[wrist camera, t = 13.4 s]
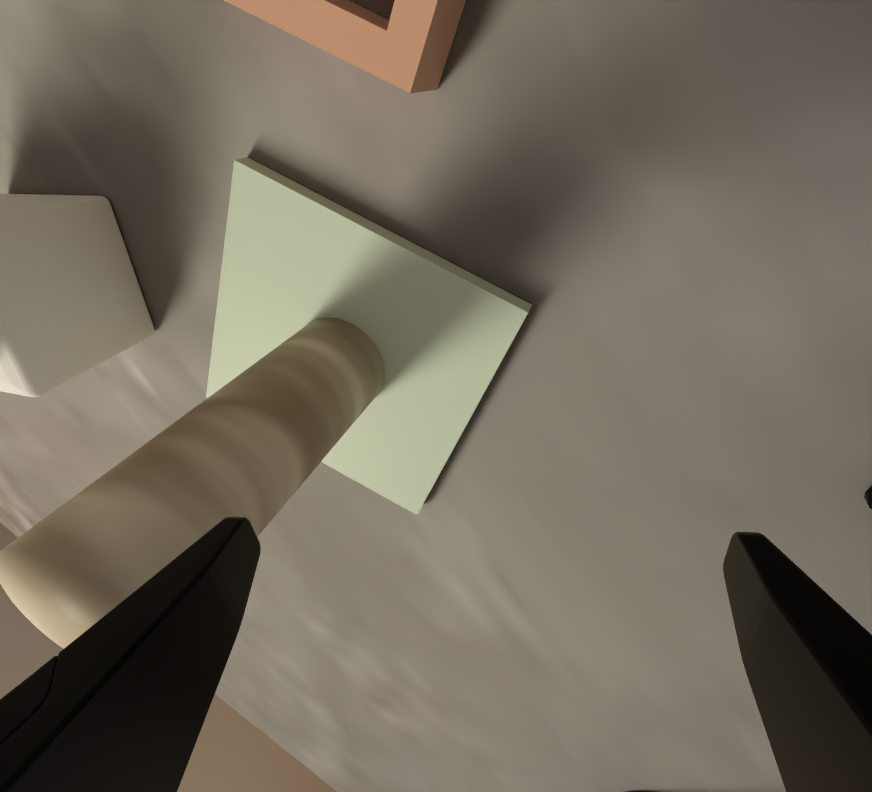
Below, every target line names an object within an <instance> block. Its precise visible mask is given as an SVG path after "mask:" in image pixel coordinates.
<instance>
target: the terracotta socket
mask: <svg viewBox="0 0 872 792" xmlns="http://www.w3.org/2000/svg"><path fill="white" fill-rule="evenodd" d="M224 1H226V2H228V3H230V4H232V5H234V6H236V7H238V8H240V9H242V10H244V11H246V12H248V13H250V14H252V15H254V16H256V17H258V18H260V19H262V20H264V21H266V22H268V23H270V24H272V25H274V26H276V27H278V28H280V29H282V30H284V31H286V32H288V33H290V34H292V35H294V36H296V37H298V38H300V39H302V40H304V41H306V42H308V43H310V44H312V45H314V46H316V47H318V48H320V49H322V50H324V51H326V52H328V53H330V54H332V55H334V56H336V57H338V58H340V59H342V60H344V61H346V62H348V63H350V64H352V65H354V66H356V67H358V68H360V69H362V70H364V71H366V72H368V73H370V74H372V75H375V76H377V77H379V78H381V79H383V80H385V81H387V82H389V83H391V84H393V85H395V86H397V87H399V88H401V89H403V90H405V91H407V92H409V93H415V92H423V91H430V90H437V89H438V86H439V83H440V80H441V76H442V73H443V70H444V67H445V64H446V61H447V58H448V55H449V52H450V49H451V46H452V43H453V39H454V36H455V33H456V30H457V27H458V24H459V21H460V18H461V15H462V12H463V9H464V6H465V2H466V0H394V4H393V8H392V12H391V16H390V20H388V19H386V18H384V17H382V16H380V15H378V14H375V13H373V12H371V11H369V10H367V9H365V8H363V7H361V6H359V5H357V4H355V3H353V2H351V1H349V0H224Z"/></svg>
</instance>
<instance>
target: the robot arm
mask: <svg viewBox="0 0 872 792" xmlns="http://www.w3.org/2000/svg"><path fill="white" fill-rule="evenodd" d="M864 497H865V499H866V501H867V503H868V506H869V508H871V509H872V487H870V488H869V489H868V490H867V491H866V492H865V496H864ZM259 556H260V543H259V540H258V538H257V536H256V533H255V531H254V529H253V527H252V524H251V522H250V520H249V519H248V518H246V517H232V516H231V517H226V518H224V519H223V520H222V521H220V522H219V523H218V524H217V525H215V526H214V527H213V528H212V529H211V530H209V531H208V532H207V533H206V534H204V535H203V536H202V537H201V538H200V539H198V540H197V541H196V542H195V543H193V544H192V545H191V546H190V547H188V548H187V549H186V550H185V551H184V552H182V553H181V554H180V555H179V556H177V557H176V558H175V559H174V560H172V561H171V562H170V563H169V564H168V565H166V566H165V567H164V568H163V569H161V570H160V571H159V572H158V573H156V574H155V575H154V576H153V577H152V578H150V579H149V580H148V581H147V582H145V583H144V584H143V585H142V586H140V587H139V588H138V589H137V590H136V591H134V592H133V593H132V594H131V595H129V596H128V597H127V598H126V599H124V600H123V601H122V602H121V603H120V604H118V605H117V606H116V607H115V608H113V609H112V610H111V611H110V612H108V613H107V614H106V615H105V616H104V617H102V618H101V619H100V620H99V621H97V622H96V623H95V624H94V625H92V626H91V627H90V628H89V629H88V630H86V631H85V632H84V633H83V634H81V635H80V636H79V637H78V638H76V639H75V640H74V641H73V642H72V643H70V644H69V645H68V646H67V647H65V648H64V649H63V650H62V651H61V652H60V653H59V655H58V656H54V657H53V658H52V659H51V660H49V661H48V662H47V663H46V664H44V665H43V666H42V667H41V668H39V669H38V670H37V671H36V672H34V673H33V674H32V675H31V676H30V677H28V678H27V679H26V680H24V681H23V682H22V683H21V684H19V685H18V686H17V687H15V688H14V689H13V690H12V691H10V692H9V693H8V694H7V695H5V696H4V697H3V698H2V699H0V792H177V790H178V787H179V785H180V782H181V780H182V777H183V775H184V772H185V769H186V767H187V764H188V761H189V759H190V756H191V754H192V751H193V748H194V746H195V743H196V741H197V738H198V736H199V733H200V730H201V728H202V725H203V723H204V720H205V717H206V715H207V712H208V709H209V707H210V704H211V702H212V699H213V697H214V694H215V691H216V689H217V686H218V684H219V681H220V679H221V676H222V673H223V671H224V668H225V666H226V663H227V660H228V658H229V655H230V653H231V650H232V647H233V645H234V642H235V640H236V637H237V634H238V631H239V628H240V625H241V622H242V619H243V615H244V612H245V608H246V604H247V601H248V597H249V593H250V590H251V586H252V582H253V579H254V575H255V571H256V567H257V564H258V560H259ZM723 572H724V578H725V583H726V587H727V592H728V596H729V601H730V606H731V610H732V615H733V620H734V624H735V629H736V634H737V638H738V643H739V647H740V652H741V656H742V660H743V664H744V667H745V670H746V673H747V677H748V680H749V682H750V685H751V688H752V691H753V694H754V697H755V700H756V703H757V706H758V709H759V712H760V715H761V718H762V721H763V724H764V727H765V730H766V733H767V736H768V739H769V742H770V745H771V748H772V751H773V754H774V757H775V760H776V763H777V766H778V768H779V771H780V774H781V777H782V780H783V783H784V786H785V789H786V792H872V635H871V634H870V633H869V632H868V631H867V630H866V629H865V628H863V627H862V626H861V625H860V624H859V623H858V622H857V621H856V620H855V619H854V618H853V617H852V616H851V615H849V614H848V613H847V612H846V611H845V610H844V609H843V608H842V607H841V606H840V605H839V604H838V603H836V602H835V601H834V600H833V599H832V598H831V597H830V596H829V595H828V594H827V593H826V592H825V591H824V590H822V589H821V588H820V587H819V586H818V585H817V584H816V583H815V582H814V581H813V580H812V579H811V578H810V577H808V576H807V575H806V574H805V573H804V572H803V571H802V570H801V569H800V568H799V567H798V566H797V565H795V564H794V563H793V562H792V561H791V560H790V559H789V558H788V557H787V556H786V555H785V554H784V553H783V552H781V551H780V550H779V549H778V548H777V547H776V546H775V545H774V544H773V543H772V542H771V541H770V540H769V539H767V538H766V537H765V536H764V535H762V534H760V533H756V532H736V533H734V534H733V536H732V538H731V541H730V544H729V547H728V550H727V553H726V556H725V559H724V563H723Z"/></svg>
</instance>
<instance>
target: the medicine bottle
mask: <svg viewBox="0 0 872 792" xmlns="http://www.w3.org/2000/svg"><path fill="white" fill-rule="evenodd" d="M153 333H154V326H153V323H152V320H151V318H150V315H149V312H148V309H147V306H146V303H145V301H144V298H143V295H142V292H141V289H140V286H139V284H138V281H137V278H136V275H135V272H134V269H133V266H132V264H131V261H130V258H129V255H128V252H127V249H126V247H125V244H124V241H123V238H122V235H121V232H120V230H119V227H118V224H117V221H116V218H115V215H114V213H113V210H112V207H111V204H110V202H109V200H108V199H107V198H105V197H103V196H83V195H39V194H0V391H2V392H7V393H13V394H18V395H23V396H29V397H38V396H41V395H43V394H45V393H47V392H49V391H51V390H52V389H54V388H56V387H58V386H60V385H61V384H63V383H65V382H67V381H69V380H71V379H72V378H74V377H76V376H78V375H80V374H82V373H83V372H85V371H87V370H89V369H91V368H93V367H94V366H96V365H98V364H100V363H102V362H104V361H105V360H107V359H109V358H111V357H113V356H115V355H116V354H118V353H120V352H122V351H124V350H125V349H127V348H129V347H131V346H133V345H135V344H136V343H138V342H140V341H142V340H144V339H146V338H147V337H149V336H151V335H152V334H153Z"/></svg>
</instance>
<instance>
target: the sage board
mask: <svg viewBox="0 0 872 792" xmlns="http://www.w3.org/2000/svg"><path fill="white" fill-rule="evenodd" d="M531 306H532V305H531V304H529V303H528V302H526V301H524V300H522V299H520V298H518V297H516V296H514V295H512V294H510V293H508V292H506V291H504V290H502V289H501V288H499V287H497V286H495V285H493V284H491V283H489V282H487V281H485V280H483V279H481V278H479V277H477V276H475V275H474V274H472V273H470V272H468V271H466V270H464V269H462V268H460V267H458V266H456V265H454V264H452V263H450V262H448V261H447V260H445V259H443V258H441V257H439V256H437V255H435V254H433V253H431V252H429V251H427V250H425V249H423V248H421V247H420V246H418V245H416V244H414V243H412V242H410V241H408V240H406V239H404V238H402V237H400V236H398V235H396V234H394V233H392V232H391V231H389V230H387V229H385V228H383V227H381V226H379V225H377V224H375V223H373V222H371V221H369V220H367V219H365V218H364V217H362V216H360V215H358V214H356V213H354V212H352V211H350V210H348V209H346V208H344V207H342V206H340V205H338V204H337V203H335V202H333V201H331V200H329V199H327V198H325V197H323V196H321V195H319V194H317V193H315V192H313V191H311V190H310V189H308V188H306V187H304V186H302V185H300V184H298V183H296V182H294V181H292V180H290V179H288V178H286V177H284V176H282V175H281V174H279V173H277V172H275V171H273V170H271V169H269V168H267V167H265V166H263V165H261V164H259V163H257V162H255V161H254V160H252V159H250V158H248V157H245V158H241V159H237V160H234V168H233V176H232V184H231V193H230V201H229V210H228V218H227V226H226V235H225V243H224V251H223V260H222V268H221V277H220V285H219V293H218V302H217V310H216V319H215V327H214V335H213V344H212V352H211V361H210V369H209V377H208V386H207V394H206V398H209V397H210V396H211V395H213V394H214V393H215V392H217V391H218V390H219V389H221V388H222V387H223V386H225V385H226V384H227V383H229V382H230V381H232V380H233V379H234V378H236V377H237V376H238V375H240V374H241V373H242V372H244V371H245V370H246V369H248V368H249V367H251V366H252V365H253V364H255V363H256V362H257V361H259V360H260V359H261V358H263V357H264V356H265V355H267V354H268V353H269V352H271V351H272V350H274V349H275V348H276V347H278V346H279V345H280V344H282V343H283V342H284V341H286V340H287V339H288V338H290V337H291V336H292V335H294V334H295V333H297V332H298V331H299V330H301V329H302V328H303V327H305V326H306V325H307V324H309V323H310V322H312V321H314V320H317V319H320V318H337V319H341V320H344V321H347V322H349V323H351V324H353V325H355V326H356V327H358V328H359V329H361V330H362V331H363V332H364V333H365V334H366V335H367V336H368V337H369V338H370V339H371V340H372V341H373V343H374V344H375V346H376V347H377V349H378V351H379V353H380V355H381V357H382V360H383V364H384V372H385V376H384V383H383V386H382V389H381V390H380V392H379V394H378V395H377V396H376V397H375V398H374V400H373V401H372V402H371V403H370V404H369V405H368V407H367V408H366V409H365V410H364V411H363V412H362V414H361V415H360V416H359V417H358V418H357V420H356V421H355V422H354V423H353V424H352V425H351V427H350V428H349V429H348V430H347V431H346V433H345V434H344V435H343V436H342V437H341V438H340V440H339V441H338V442H337V443H336V444H335V446H334V447H333V448H332V449H331V450H330V451H329V453H328V454H327V455H326V456H325V457H324V458H323V460H322V461H321V462H322V463H324V464H326V465H328V466H330V467H331V468H333V469H335V470H337V471H339V472H340V473H342V474H344V475H346V476H348V477H349V478H351V479H353V480H355V481H357V482H358V483H360V484H362V485H364V486H366V487H367V488H369V489H371V490H373V491H375V492H376V493H378V494H380V495H382V496H384V497H385V498H387V499H389V500H391V501H393V502H394V503H396V504H398V505H400V506H402V507H403V508H405V509H407V510H409V511H411V512H412V513H414V514H416V515H417V514H418V512H419V511H420V509H421V507H422V505H423V503H424V502H425V500H426V498H427V496H428V494H429V492H430V491H431V489H432V487H433V485H434V483H435V481H436V480H437V478H438V476H439V474H440V472H441V471H442V469H443V467H444V465H445V463H446V461H447V460H448V458H449V456H450V454H451V452H452V451H453V449H454V447H455V445H456V443H457V441H458V440H459V438H460V436H461V434H462V432H463V431H464V429H465V427H466V425H467V423H468V421H469V420H470V418H471V416H472V414H473V412H474V411H475V409H476V407H477V405H478V403H479V401H480V400H481V398H482V396H483V394H484V392H485V391H486V389H487V387H488V385H489V383H490V381H491V380H492V378H493V376H494V374H495V372H496V371H497V369H498V367H499V365H500V363H501V361H502V360H503V358H504V356H505V354H506V352H507V351H508V349H509V347H510V345H511V343H512V341H513V340H514V338H515V336H516V334H517V332H518V331H519V329H520V327H521V325H522V323H523V321H524V320H525V318H526V316H527V314H528V312H529V310H530V308H531Z"/></svg>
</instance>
